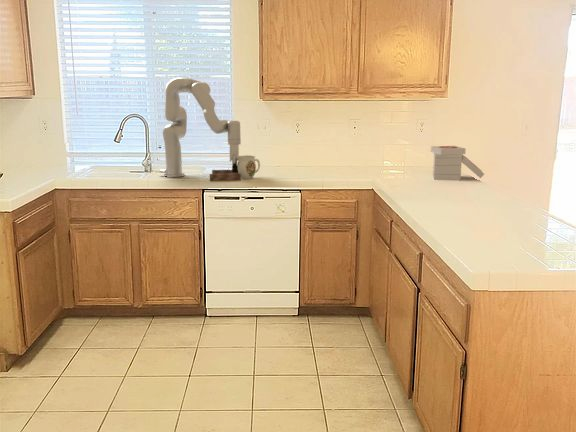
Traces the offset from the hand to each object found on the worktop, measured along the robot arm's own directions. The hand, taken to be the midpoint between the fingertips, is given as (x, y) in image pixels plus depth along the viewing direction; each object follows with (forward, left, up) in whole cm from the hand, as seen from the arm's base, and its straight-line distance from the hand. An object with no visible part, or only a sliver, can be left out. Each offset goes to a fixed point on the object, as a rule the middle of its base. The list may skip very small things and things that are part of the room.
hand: (235, 172), depth 356 cm
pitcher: (+8, 0, -4) cm, 9 cm away
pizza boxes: (+131, -11, -4) cm, 131 cm away
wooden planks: (-5, 0, -4) cm, 7 cm away
